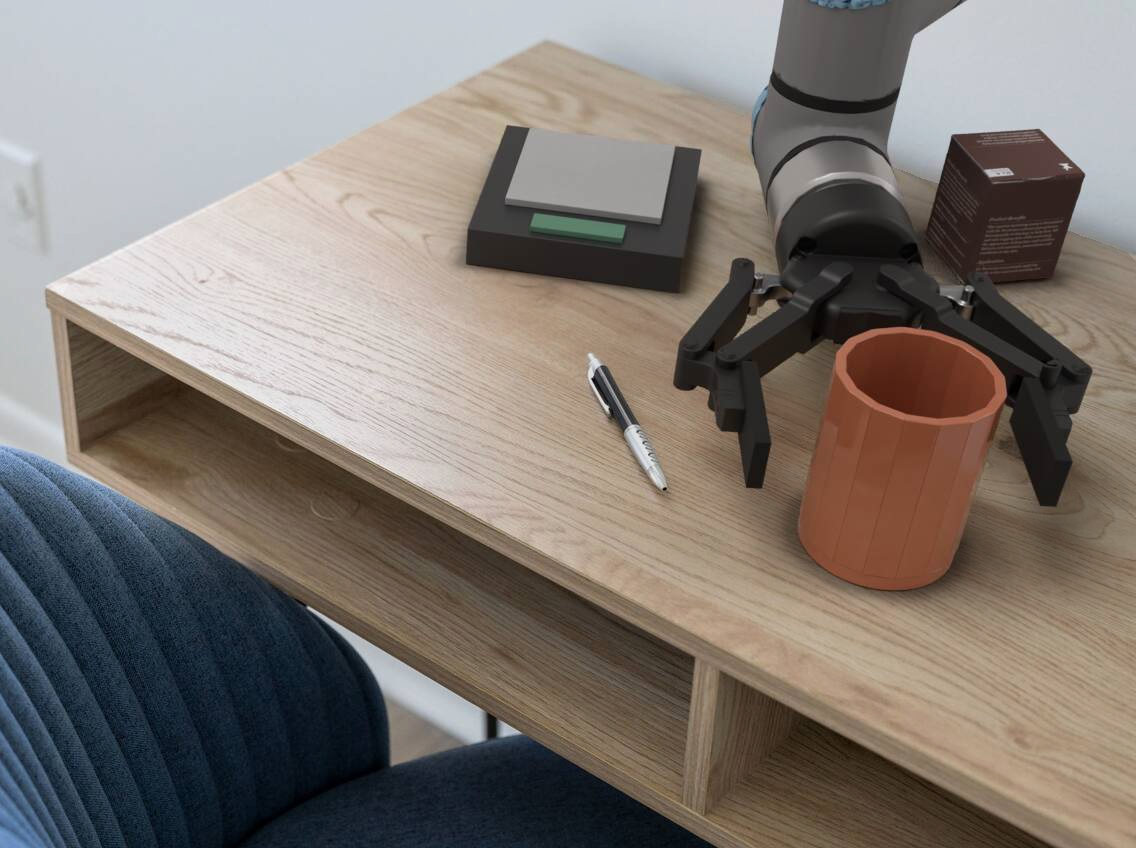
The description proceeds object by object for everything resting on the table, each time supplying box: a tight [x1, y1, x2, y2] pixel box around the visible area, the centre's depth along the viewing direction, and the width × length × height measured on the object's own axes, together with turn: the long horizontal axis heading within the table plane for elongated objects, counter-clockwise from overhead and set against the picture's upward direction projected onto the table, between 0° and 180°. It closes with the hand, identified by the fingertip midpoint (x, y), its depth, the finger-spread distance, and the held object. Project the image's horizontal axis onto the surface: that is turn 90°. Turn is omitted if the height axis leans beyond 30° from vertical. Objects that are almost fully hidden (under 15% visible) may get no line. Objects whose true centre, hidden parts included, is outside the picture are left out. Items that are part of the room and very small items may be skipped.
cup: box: [797, 327, 1007, 591], centre depth 77 cm, size 8×8×10 cm
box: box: [924, 128, 1086, 285], centre depth 99 cm, size 6×6×7 cm
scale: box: [465, 124, 703, 294], centre depth 102 cm, size 13×14×3 cm
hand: (907, 475), depth 74 cm, fingers open, 13 cm apart
